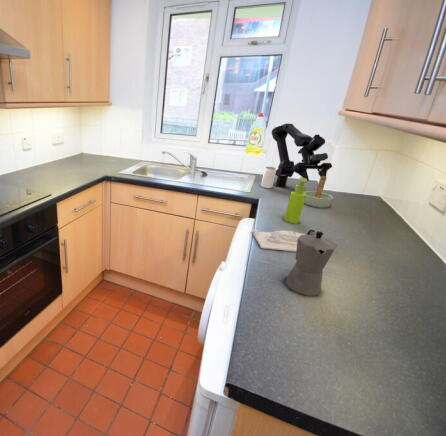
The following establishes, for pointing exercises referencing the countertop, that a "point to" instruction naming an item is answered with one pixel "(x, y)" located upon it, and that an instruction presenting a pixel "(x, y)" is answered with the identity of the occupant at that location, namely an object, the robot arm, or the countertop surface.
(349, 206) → the countertop surface
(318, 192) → the pestle
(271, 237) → the beige cloth
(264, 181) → the can
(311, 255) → the coffeepot
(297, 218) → the soap dispenser
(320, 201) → the bowl
